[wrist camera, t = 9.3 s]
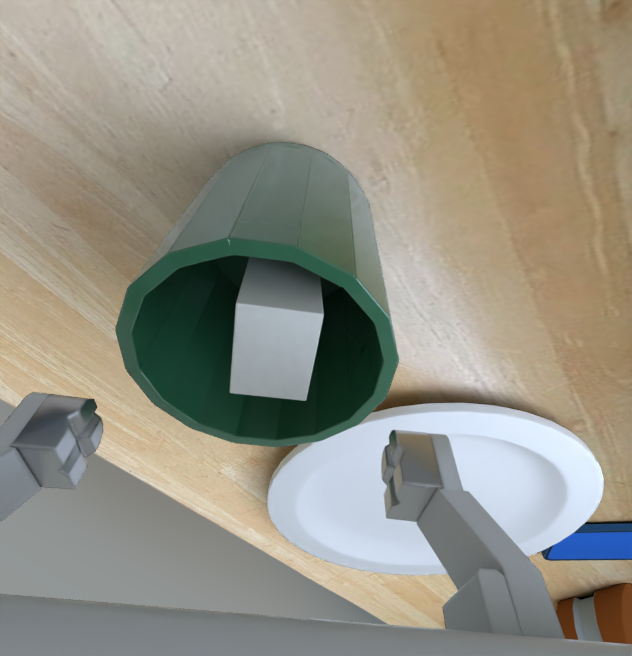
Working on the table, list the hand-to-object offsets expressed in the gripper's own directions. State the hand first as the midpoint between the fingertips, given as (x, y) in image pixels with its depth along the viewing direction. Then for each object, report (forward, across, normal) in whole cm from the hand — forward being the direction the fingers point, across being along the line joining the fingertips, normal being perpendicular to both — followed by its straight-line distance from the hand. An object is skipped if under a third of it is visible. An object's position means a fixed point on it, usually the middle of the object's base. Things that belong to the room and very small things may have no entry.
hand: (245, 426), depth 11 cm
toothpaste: (+12, 0, 0) cm, 12 cm away
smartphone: (+12, -37, +29) cm, 49 cm away
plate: (+13, -14, +24) cm, 30 cm away
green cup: (+12, 0, 0) cm, 13 cm away
